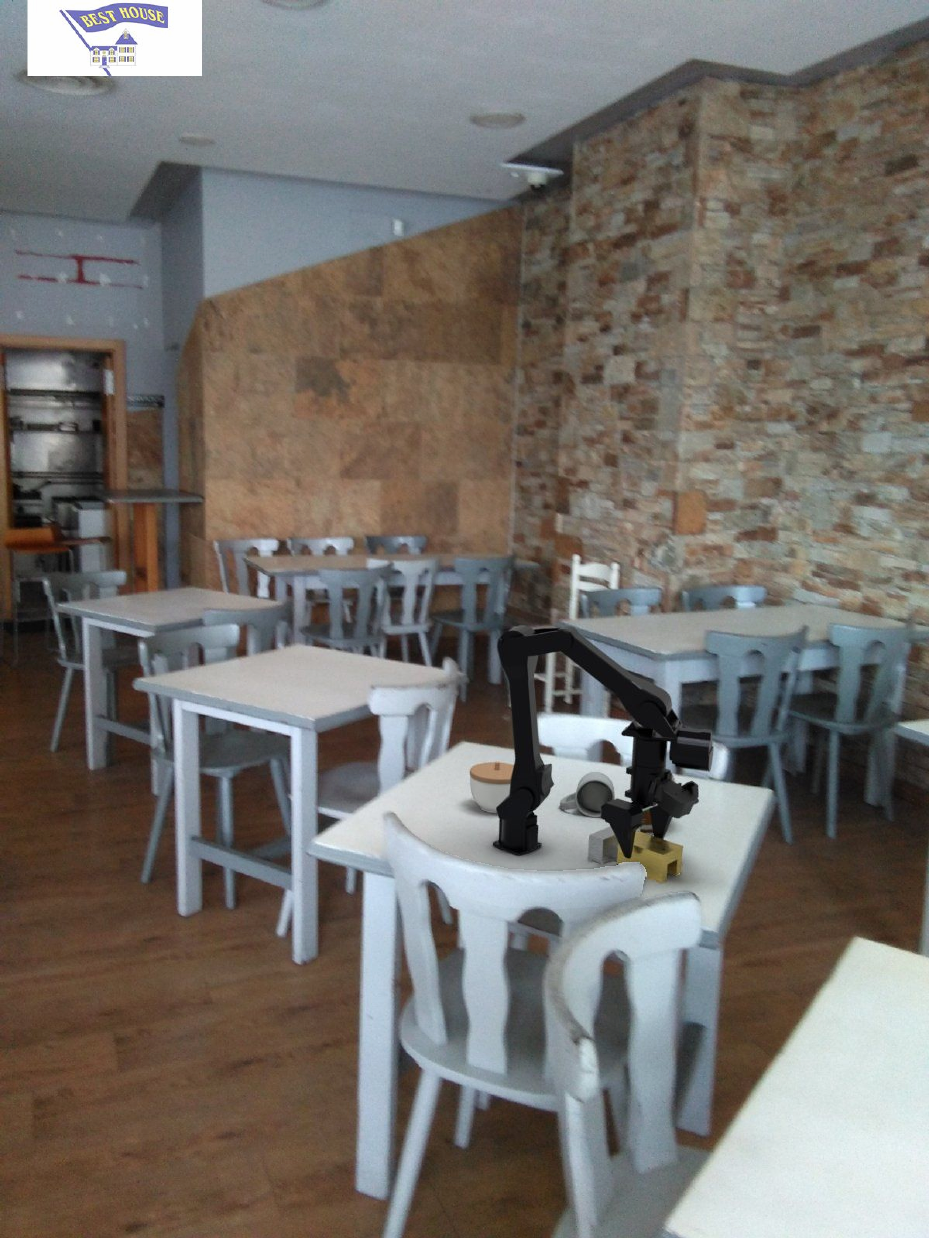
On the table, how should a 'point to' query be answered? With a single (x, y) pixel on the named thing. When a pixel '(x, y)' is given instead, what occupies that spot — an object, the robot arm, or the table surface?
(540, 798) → the robot arm
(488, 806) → the lidded jar
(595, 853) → the rail
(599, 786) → the ceramic mug
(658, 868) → the block
